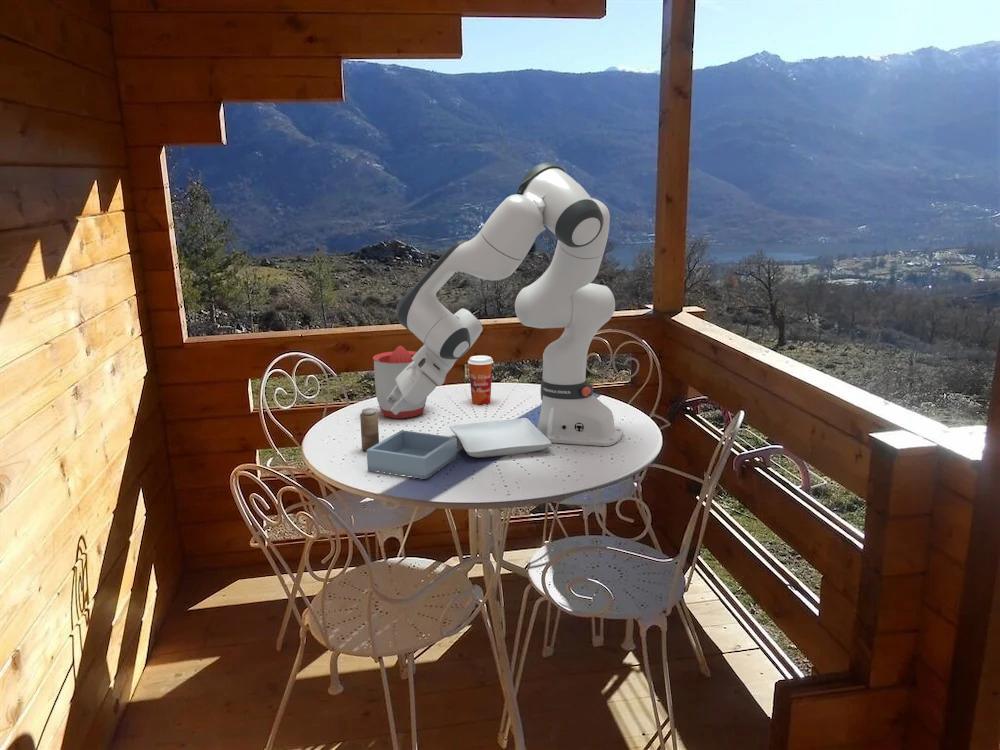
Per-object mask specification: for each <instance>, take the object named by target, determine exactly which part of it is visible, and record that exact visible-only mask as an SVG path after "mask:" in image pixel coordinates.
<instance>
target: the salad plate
mask: <svg viewBox="0 0 1000 750" xmlns="http://www.w3.org/2000/svg"><path fill="white" fill-rule="evenodd" d="M449 428H450V430H451V432H452V433H453V434H454V435H455V436H456V438H457V439H458V440H459V442H460V444H461V446H462V448H463V450H464V451H465V452H466V454H467V455H468V456H470V457H473V458H491V457H501V456H508V455H509V456H511V455H517V454H526V453H527V454H528V453H529V454H530V453H533V452H539V451H542V450H545V449H548V447H550V446H552V443H551V441H550V440H549V439H548V438H547V437H546V436H545V435H544V434H543V433H541V432H540V431H539V430H538V429H537V426H536V425H535V424H533V422H531V421H530V420H529V419H528V418H526V417H521V418H511V419H500V420H490V421H489V420H488V421H479V422H472V423H463V424H462V423H461V424H454V425H450V426H449Z"/></svg>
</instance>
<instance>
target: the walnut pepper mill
mask: <svg viewBox="0 0 1000 750" xmlns="http://www.w3.org/2000/svg"><path fill="white" fill-rule="evenodd" d="M359 416H360V417H359V419H360V435H361V450H362V451H363V452H366V453H367V449H369V448H371V447H372V446H374V445H376V444H378V443H380V438H379V437H380V435H379V434H380V433H379V415H378V412H377V411H376V409H375V408H373V407H370V408H369V407H367V408H364V409H362V410H361V413H359Z"/></svg>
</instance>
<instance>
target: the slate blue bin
mask: <svg viewBox="0 0 1000 750" xmlns="http://www.w3.org/2000/svg"><path fill="white" fill-rule="evenodd" d="M457 439H458V437H453V436H448V435H447V436H446V435H439V434H432V433H425V432H419V431H409V430H405V429H401V430H399V431H398V432H396V433H394V434H393V435H391V436H388V437H387V438H385V439H383V440H382V441H379V443H378V444H376V445H374V446H372V447H371V448H369V449H367V452H366V460H367V461H366V464H367V471H368V470H372V471H371V472H373V471H379V472H385V473H391V474H397V475H405V476H412V477H418V478H423V479H427V478H429V477H430V476H431V477H433V476H434V475H435V474H436V472H437V471H438V472H440V471H441V470H442V469H444V468H445V467H446V466H448V465H449V464H451V463H452V462H453V461H454V459H455V460H456V459H457V458H458V448H457V446H458V445H457V443H458V442H457ZM452 460H453V461H452ZM451 461H452V462H451ZM448 463H449V464H448ZM447 464H448V465H447ZM445 465H446V466H445ZM444 466H445V467H444ZM443 467H444V468H443ZM441 468H442V469H441ZM440 469H441V470H440ZM379 472H378V473H379ZM438 472H437V473H438ZM385 473H384V474H385ZM434 473H435V474H434ZM391 474H390V475H391ZM433 474H434V475H433ZM397 475H396V476H397ZM432 475H433V476H432ZM431 477H430V478H431ZM430 478H429V479H430ZM427 480H428V479H427Z"/></svg>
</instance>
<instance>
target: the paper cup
mask: <svg viewBox="0 0 1000 750" xmlns="http://www.w3.org/2000/svg"><path fill="white" fill-rule="evenodd" d="M467 363H468V369H469V372H468V373H469V382H470V385H469V386H470V394H471V395H470V396H471V397H470V398H471V403H472V404H473V405H475V404H477V405H476V406H484V405H483V404H486V405H489V404H491V395H492V377H493V375H492V373H493V363H495V362H494V361H493V358H492V357H491V356H488V355H473V356H470V357H469V359H468V360H467ZM488 403H489V404H488Z"/></svg>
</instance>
